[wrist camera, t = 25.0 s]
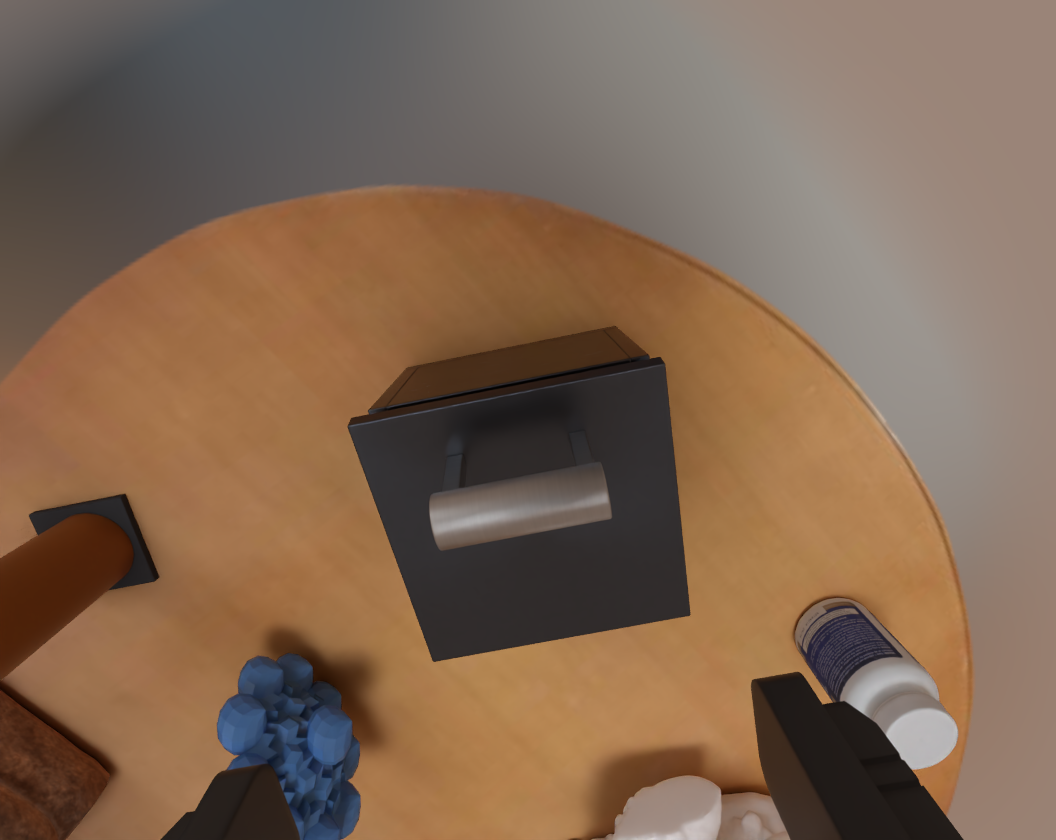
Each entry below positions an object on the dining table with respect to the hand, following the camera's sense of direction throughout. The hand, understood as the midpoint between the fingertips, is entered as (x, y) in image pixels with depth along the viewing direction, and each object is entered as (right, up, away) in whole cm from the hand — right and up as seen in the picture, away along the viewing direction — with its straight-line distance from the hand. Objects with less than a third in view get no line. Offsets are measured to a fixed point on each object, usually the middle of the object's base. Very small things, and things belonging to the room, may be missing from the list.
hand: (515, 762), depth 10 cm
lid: (0, +1, +17) cm, 17 cm away
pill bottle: (+21, -9, +32) cm, 39 cm away
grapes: (-13, -12, +33) cm, 37 cm away
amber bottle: (-27, -3, +29) cm, 40 cm away
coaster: (-27, -2, +29) cm, 40 cm away
